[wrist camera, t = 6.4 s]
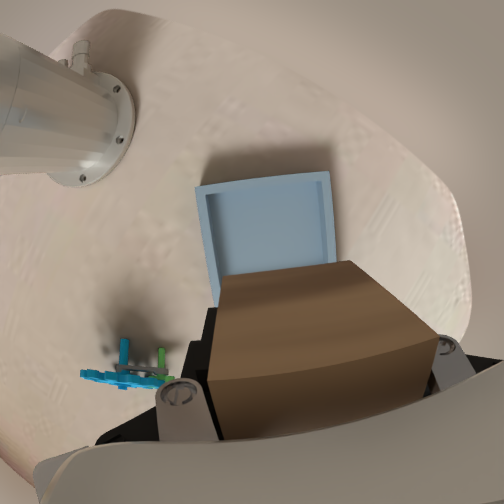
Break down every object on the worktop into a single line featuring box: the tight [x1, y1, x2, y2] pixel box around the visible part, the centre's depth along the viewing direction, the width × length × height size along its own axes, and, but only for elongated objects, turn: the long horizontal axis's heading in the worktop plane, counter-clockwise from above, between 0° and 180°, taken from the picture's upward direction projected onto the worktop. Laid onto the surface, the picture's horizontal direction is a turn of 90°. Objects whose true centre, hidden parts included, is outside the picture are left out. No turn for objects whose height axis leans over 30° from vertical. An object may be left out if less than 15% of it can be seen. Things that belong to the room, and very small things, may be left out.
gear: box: [80, 339, 175, 390], centre depth 28 cm, size 11×6×10 cm
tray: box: [195, 171, 336, 307], centre depth 26 cm, size 12×12×2 cm
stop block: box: [207, 260, 440, 440], centre depth 9 cm, size 5×5×6 cm
